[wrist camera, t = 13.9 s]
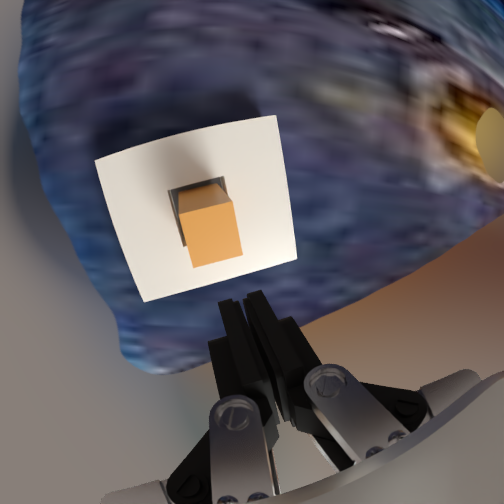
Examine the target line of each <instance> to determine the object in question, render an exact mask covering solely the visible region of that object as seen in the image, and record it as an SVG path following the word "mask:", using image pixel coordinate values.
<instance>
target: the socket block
mask: <svg viewBox="0 0 504 504" xmlns="http://www.w3.org/2000/svg"><path fill="white" fill-rule="evenodd" d="M95 164H96V168H97V171H98V175H99V179H100V182H101V186H102V189H103V193H104V196H105V200H106V203H107V206H108V209H109V212H110V215H111V218H112V221H113V224H114V227H115V230H116V233H117V236H118V239H119V242H120V244H121V247H122V250H123V252H124V255H125V258H126V260H127V263H128V265H129V268H130V270H131V273H132V275H133V278H134V280H135V283H136V285H137V287H138V290H139V292H140V294H141V297H142V299H143V301H144V302H147V301H150V300H154V299H158V298H161V297H165V296H169V295H172V294H176V293H180V292H183V291H187V290H191V289H194V288H198V287H201V286H205V285H209V284H212V283H216V282H219V281H223V280H226V279H230V278H233V277H237V276H240V275H244V274H247V273H251V272H254V271H258V270H261V269H264V268H268V267H271V266H275V265H278V264H281V263H285V262H288V261H292V260H295V259H297V254H296V245H295V237H294V229H293V222H292V214H291V207H290V200H289V193H288V186H287V179H286V173H285V166H284V160H283V154H282V148H281V142H280V136H279V130H278V124H277V119H276V115H273V116H266V117H259V118H253V119H247V120H241V121H236V122H230V123H225V124H220V125H215V126H210V127H206V128H201V129H197V130H193V131H189V132H185V133H181V134H177V135H173V136H169V137H166V138H162V139H158V140H155V141H151V142H148V143H145V144H142V145H138V146H135V147H132V148H129V149H126V150H123V151H120V152H117V153H114V154H111V155H109V156H106V157H103V158H100V159H98V160H95ZM214 183H217V184H218V185H219V186H220V187H221V189H222V190H223V191H224V192H225V193H226V194H227V195H228V196H229V198H230V199H231V200H232V201H233V206H234V211H235V216H236V221H237V227H238V232H239V237H240V242H241V247H242V252H243V255H242V256H238V257H234V258H230V259H227V260H223V261H219V262H215V263H211V264H207V265H204V266H200V267H196V268H193V265H192V262H191V258H190V255H189V251H188V248H187V244H186V240H185V237H184V233H183V229H182V225H181V222H180V218H179V197H178V192H181V191H185V190H189V189H193V188H197V187H202V186H206V185H210V184H214Z"/></svg>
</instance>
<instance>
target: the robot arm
mask: <svg viewBox="0 0 504 504" xmlns="http://www.w3.org/2000/svg"><path fill="white" fill-rule="evenodd" d="M243 304H244V308H245V312H246V316H247V320H248V324H249V326H248V324H247V321H246V319H245V316H244V314H243V311H242V309H241V306H240V303H239V301H235V302H233V301H232V298H231V299H228V300H224V301H220V302H218V306H219V309H220V313H221V316H222V320H223V323H224V327H225V330H226V334H227V336H225V337H222V338H218V339H214V340H211V341H208V346H209V351H210V356H211V361H212V365H213V370H214V374H215V379H216V383H217V388H218V392H219V396H220V400H219V401H218V402H217V403H216V404H215V405H214V406H213V407H212V409H211V411H210V416H209V430H208V431H207V432H206V433H205V435H204V436H203V437H202V438H201V440H200V441H199V442H198V443H197V445H196V446H195V447H194V448H193V449H192V451H191V452H190V453H189V454H188V455H187V457H186V458H185V459H184V460H183V461H182V463H181V464H180V465H179V466H178V467H177V468H176V470H175V471H174V472H173V473H172V474H171V476H170V477H169V478H168V479H166V480H162V481H159V480H155V481H152V482H149V483H145V484H141V485H138V486H134V487H131V488H127V489H122V490H118V491H113V492H110V493H108V494H106V495H105V496H104V497H103V498H102V499H101V503H100V504H504V371H501V372H498V373H495V374H493V375H491V376H489V377H487V378H486V379H484V380H481V378H480V377H479V375H478V374H477V373H476V372H474V371H472V370H470V369H463V370H459V371H457V372H455V373H453V374H451V375H448V376H447V377H444V378H442V379H440V380H437V381H434V382H432V383H429V384H427V385H424V386H422V387H420V389H419V390H417V391H411V390H406V389H398V388H392V387H386V386H379V385H374V384H368V383H363V382H359V381H358V380H357V379H356V378H355V377H354V376H353V375H352V374H351V373H350V372H349V371H348V370H346V369H345V368H344V367H342V366H339V365H336V364H324V365H322V363H321V362H320V360H319V358H318V357H317V355H316V354H315V352H314V351H313V349H312V347H311V346H310V344H309V343H308V341H307V339H306V338H305V336H304V335H303V333H302V332H301V330H300V328H299V327H298V325H297V324H296V322H295V320H294V319H293V318H292V317H291V316H290V317H287V318H284V319H281V320H278V319H277V317H276V316H275V314H274V312H273V310H272V308H271V307H270V305H269V303H268V301H267V299H266V297H265V296H264V294H263V292H262V290H258V291H255V292H252V293H248V294H247V298H245V299H243ZM249 328H250V329H249ZM275 401H276V403H277V406H278V408H279V410H280V413H281V415H282V417H283V420H284V422H286V421H289V420H290V422H291V424H292V426H293V427H295V426H296V428H297V430H298V431H301V432H305V433H307V434H308V435H309V437H310V439H311V440H312V441H313V443H314V444H315V446H316V447H317V448H318V450H319V451H320V452H321V454H322V455H323V456H324V458H325V459H326V460H327V462H328V463H329V464H330V466H331V467H332V468H333V470H334V471H335V472H336V474H334V475H332V476H330V477H327V478H325V479H322V480H320V481H317V482H315V483H312V484H309V485H307V486H304V487H301V488H298V489H295V490H292V491H289V492H286V493H283V494H281V490H280V485H279V480H278V474H277V469H276V463H275V459H274V453H273V446H274V444H275V443H276V441H277V440H278V438H279V434H278V430H277V426H276V425H277V424H280V421H279V417H278V412H277V408H276V404H275Z"/></svg>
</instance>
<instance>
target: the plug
mask: <svg viewBox="0 0 504 504" xmlns="http://www.w3.org/2000/svg"><path fill="white" fill-rule="evenodd" d="M178 197H179V218H180V222H181V225H182V229H183V233H184V237H185V240H186V244H187V248H188V251H189V255H190V258H191V262H192V265H193V268H196V267H200V266H204V265H207V264H211V263H215V262H219V261H223V260H227V259H230V258H234V257H238V256H242V255H243V252H242V247H241V242H240V237H239V232H238V227H237V221H236V216H235V211H234V206H233V201H232V200H231V199H230V198H229V196H228V195H227V194H226V193H225V192H224V191H223V190H222V189H221V187H220V186H219V185H218V184H217V183H214V184H210V185H206V186H202V187H197V188H193V189H189V190H185V191H181V192H178Z"/></svg>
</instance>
